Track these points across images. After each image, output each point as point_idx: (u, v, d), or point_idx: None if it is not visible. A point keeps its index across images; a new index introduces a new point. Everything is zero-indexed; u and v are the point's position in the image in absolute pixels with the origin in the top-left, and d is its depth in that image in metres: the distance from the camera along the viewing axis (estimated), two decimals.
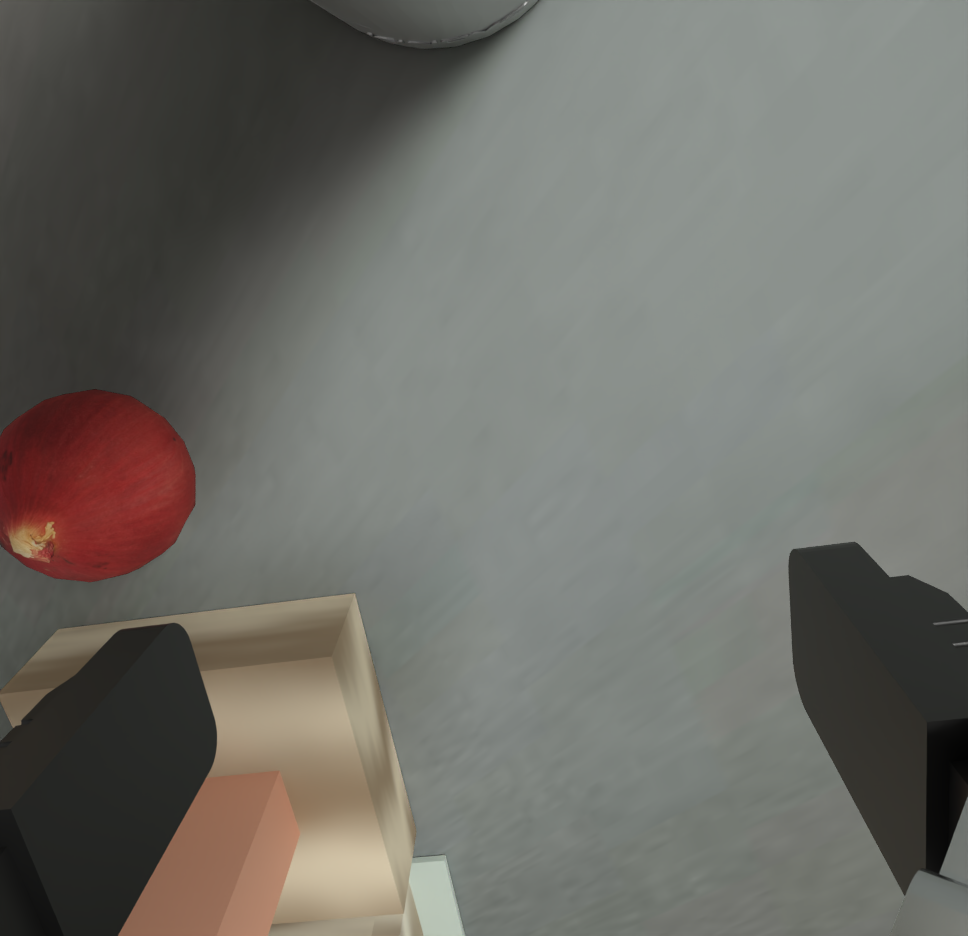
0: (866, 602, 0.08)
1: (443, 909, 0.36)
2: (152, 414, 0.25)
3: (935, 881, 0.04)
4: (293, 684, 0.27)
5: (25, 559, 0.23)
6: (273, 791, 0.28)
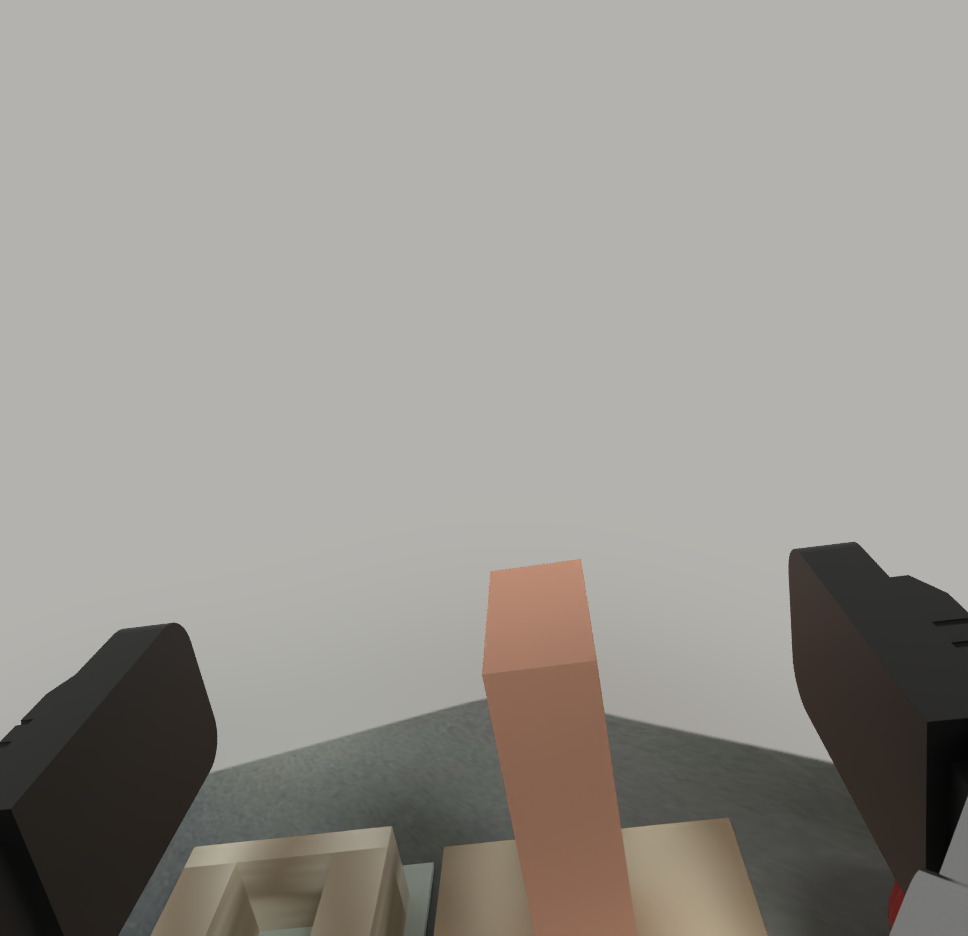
0: (866, 602, 0.08)
1: None
2: None
3: (935, 881, 0.04)
4: None
5: None
6: None
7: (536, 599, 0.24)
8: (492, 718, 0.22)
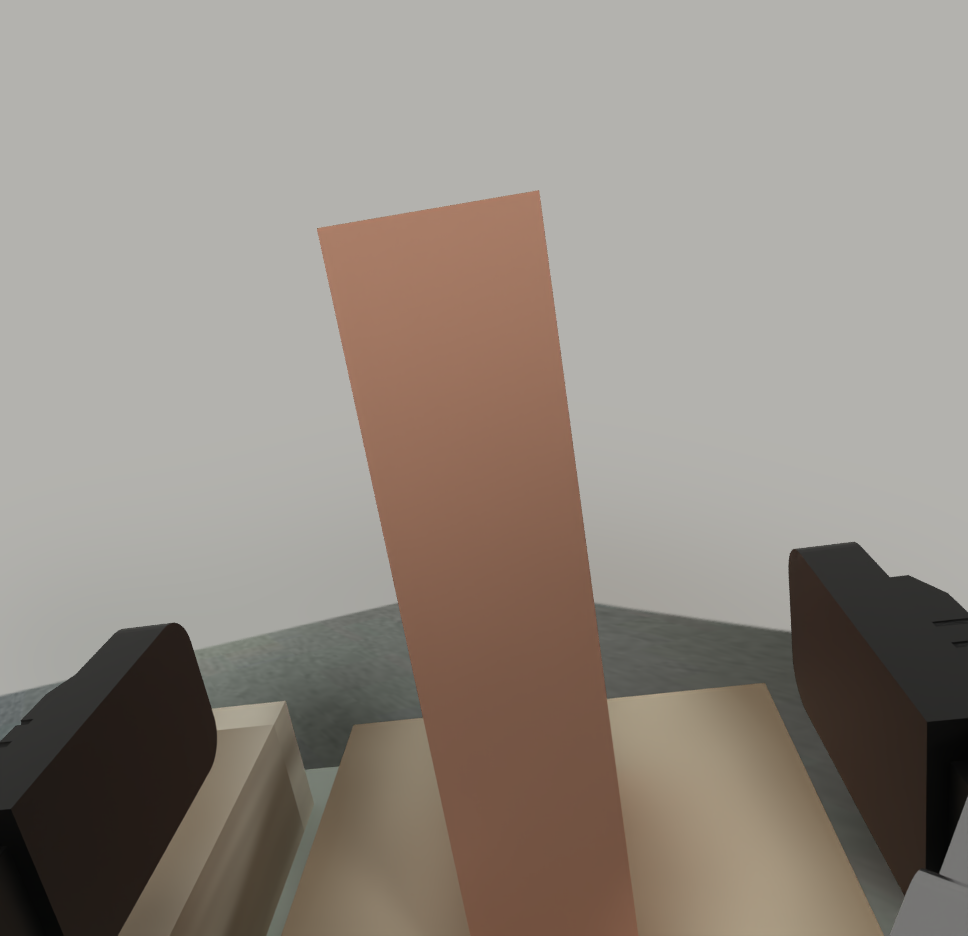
0: (866, 602, 0.08)
1: None
2: None
3: (935, 881, 0.04)
4: None
5: None
6: None
7: None
8: (342, 330, 0.11)
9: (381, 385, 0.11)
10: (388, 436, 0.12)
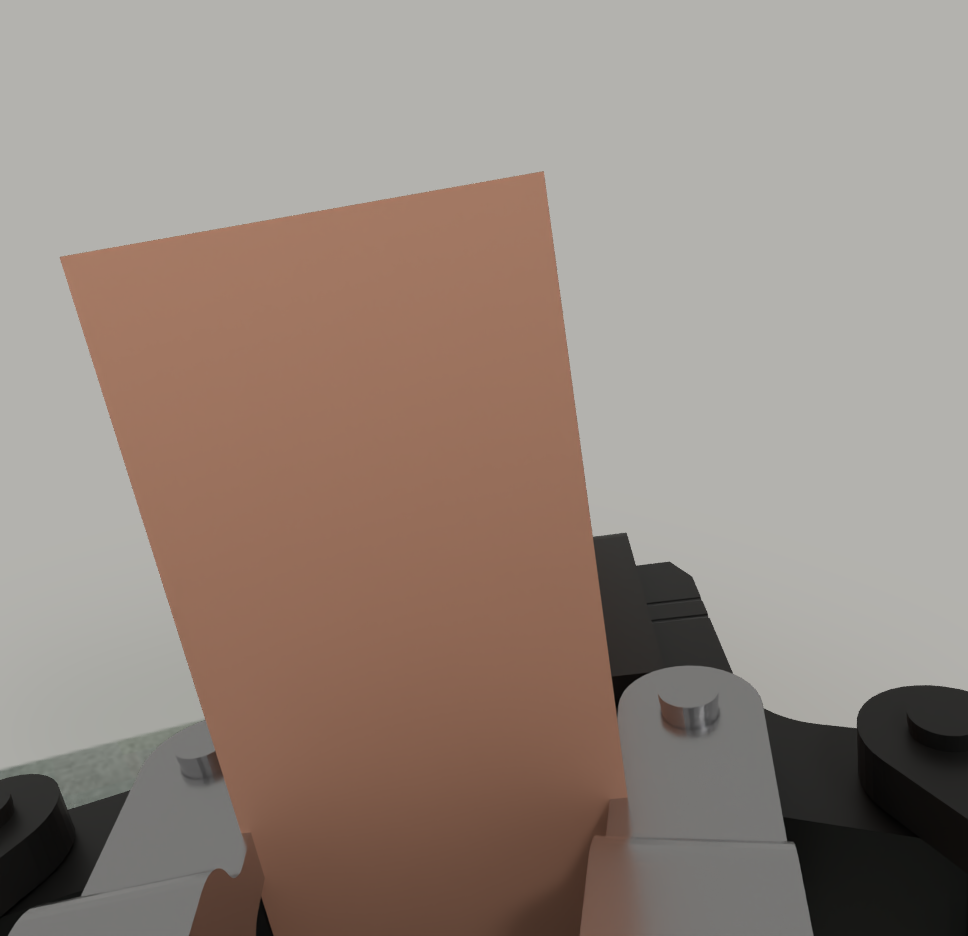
0: (603, 583, 0.09)
1: None
2: None
3: (607, 842, 0.05)
4: None
5: None
6: None
7: None
8: (132, 467, 0.05)
9: (221, 575, 0.06)
10: (241, 670, 0.06)
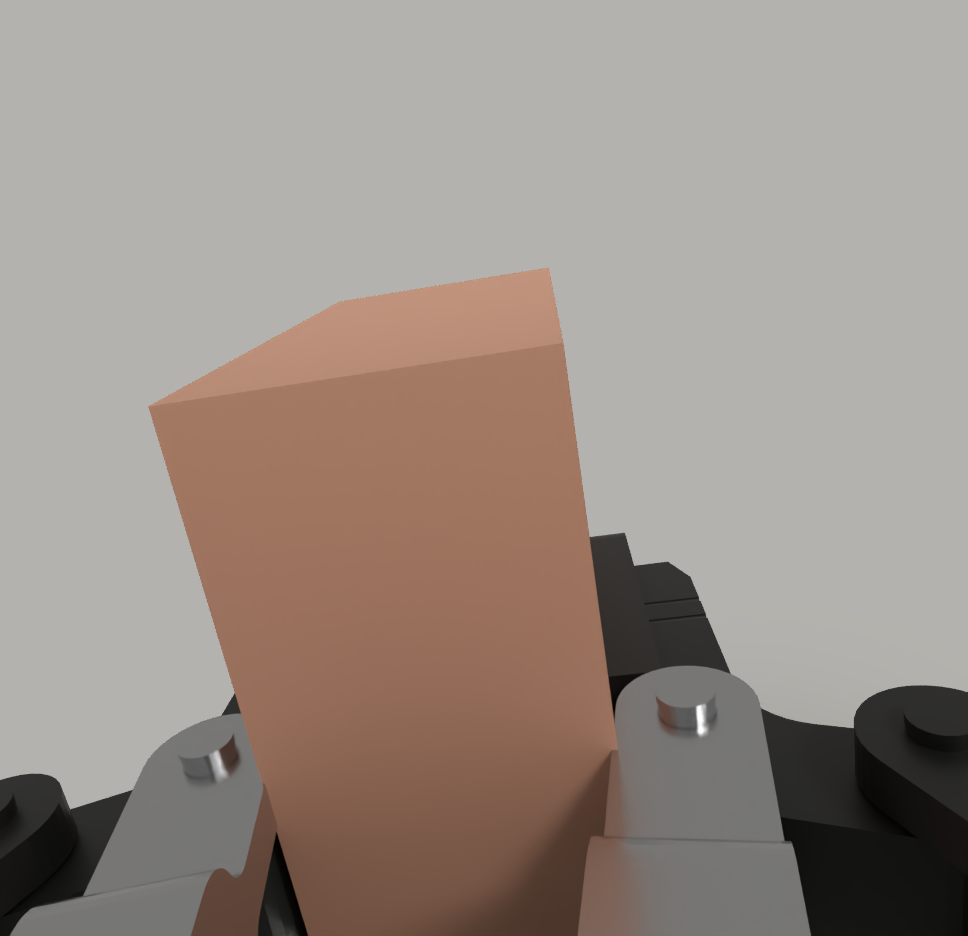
0: (602, 583, 0.09)
1: None
2: None
3: (605, 842, 0.05)
4: None
5: None
6: None
7: (419, 307, 0.09)
8: (205, 577, 0.06)
9: (280, 668, 0.06)
10: (296, 747, 0.07)
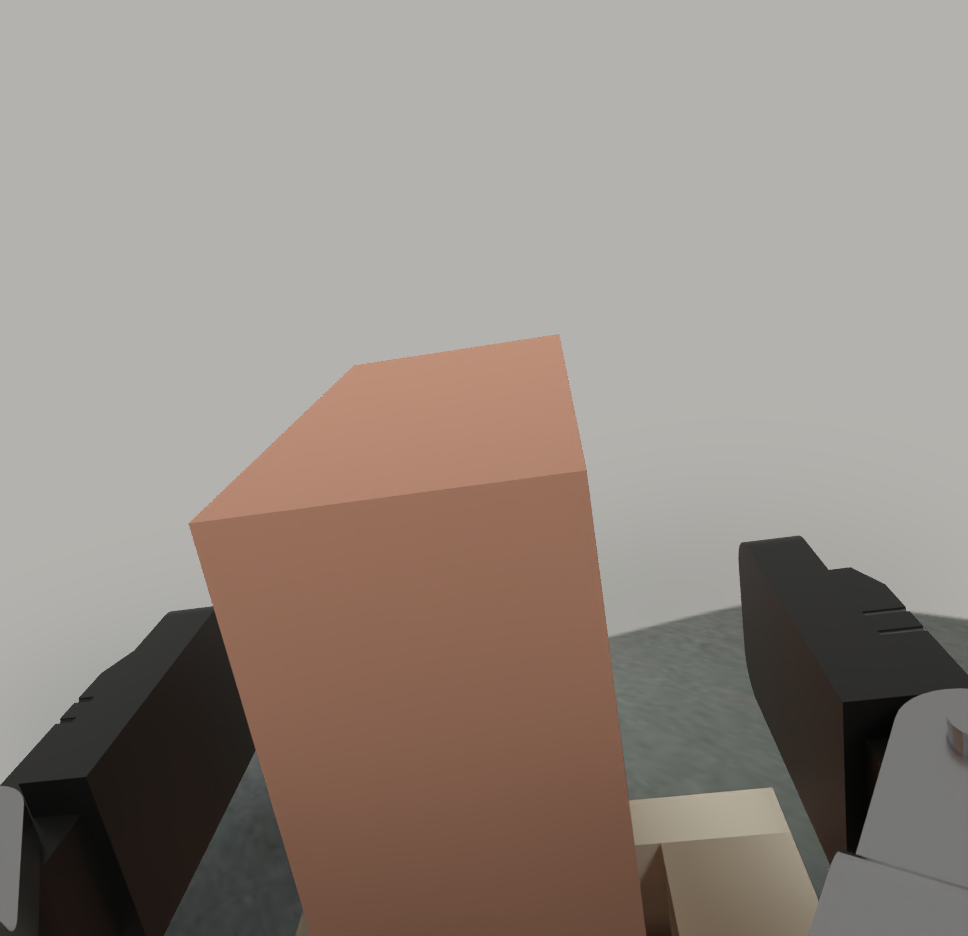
0: (802, 591, 0.09)
1: None
2: None
3: (853, 860, 0.05)
4: None
5: None
6: None
7: (437, 386, 0.09)
8: (240, 680, 0.07)
9: (310, 763, 0.07)
10: (325, 836, 0.07)
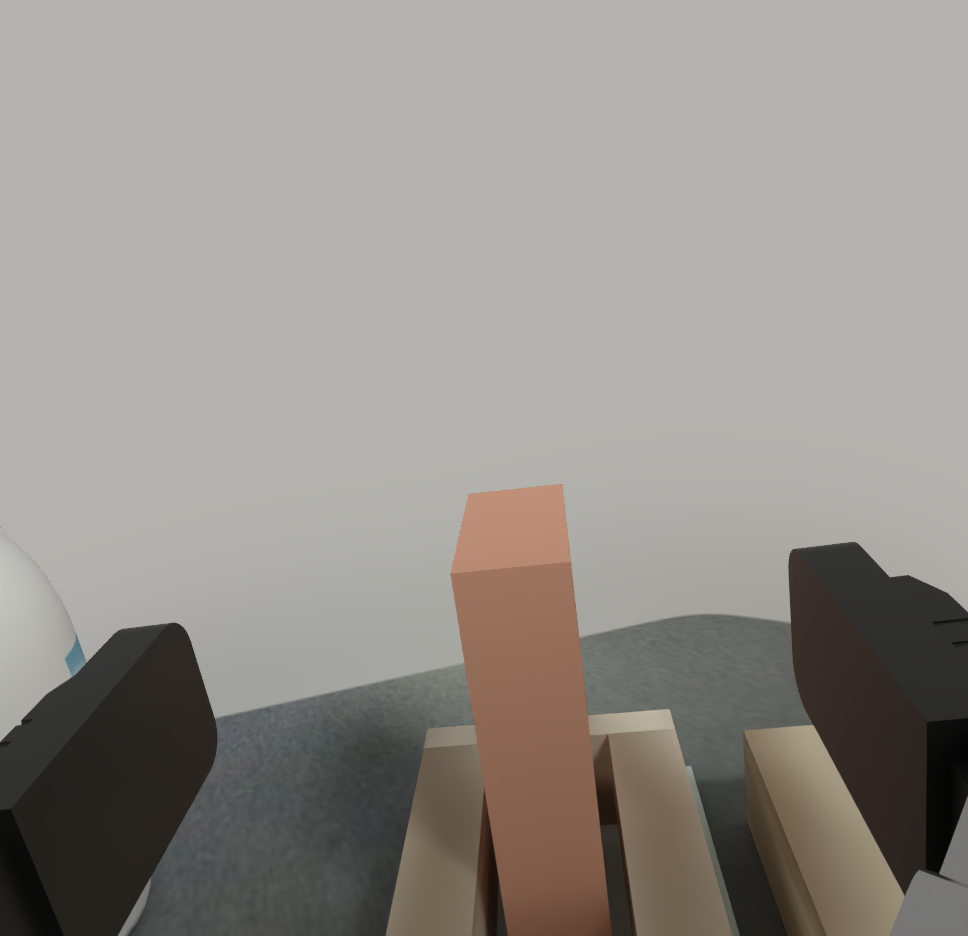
0: (866, 602, 0.08)
1: None
2: None
3: (935, 881, 0.04)
4: None
5: None
6: None
7: (513, 515, 0.23)
8: (459, 622, 0.21)
9: (479, 651, 0.21)
10: (481, 677, 0.21)
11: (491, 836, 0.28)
